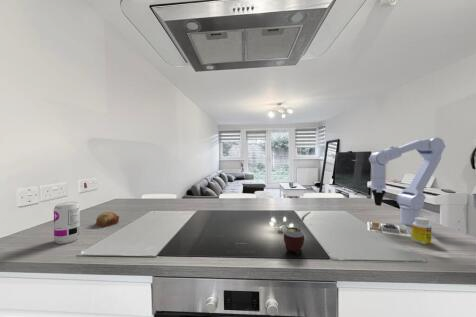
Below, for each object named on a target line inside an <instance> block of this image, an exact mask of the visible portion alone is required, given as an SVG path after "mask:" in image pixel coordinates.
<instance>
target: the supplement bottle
mask: <svg viewBox="0 0 476 317" xmlns="http://www.w3.org/2000/svg"><path fill="white" fill-rule="evenodd" d="M411 228H412V229H411V240H412V241H413V242H415V243H418V244H420V245H421V244H422V245H431V244H432V225H431V224H430V219H428V218H426V217H421V216H419V217H416V218H415V222H413V223H412V226H411Z"/></svg>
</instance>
